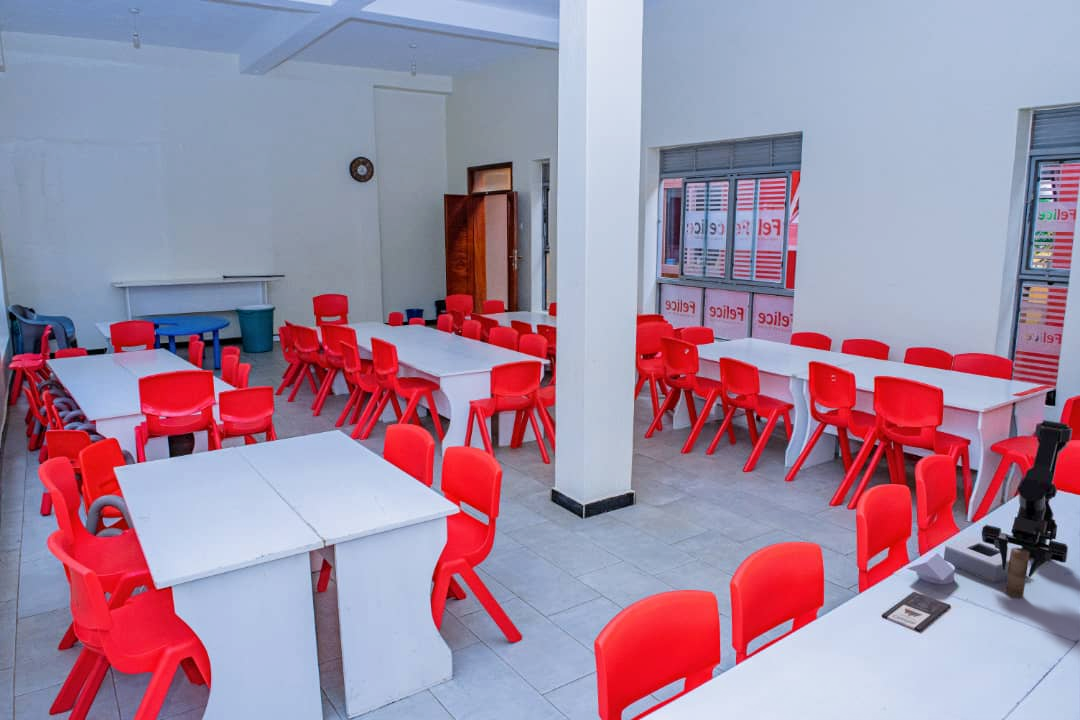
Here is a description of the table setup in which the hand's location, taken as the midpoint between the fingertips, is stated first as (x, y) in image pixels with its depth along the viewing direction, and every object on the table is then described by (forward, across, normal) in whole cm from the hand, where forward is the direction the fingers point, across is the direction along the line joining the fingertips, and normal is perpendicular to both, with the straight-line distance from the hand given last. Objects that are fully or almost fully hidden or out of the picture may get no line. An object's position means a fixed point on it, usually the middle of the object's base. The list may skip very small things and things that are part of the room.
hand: (1016, 572), depth 195 cm
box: (-5, -10, +14) cm, 18 cm away
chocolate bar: (+23, -17, -12) cm, 31 cm away
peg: (+4, 0, +6) cm, 7 cm away
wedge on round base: (+7, -18, +3) cm, 20 cm away
